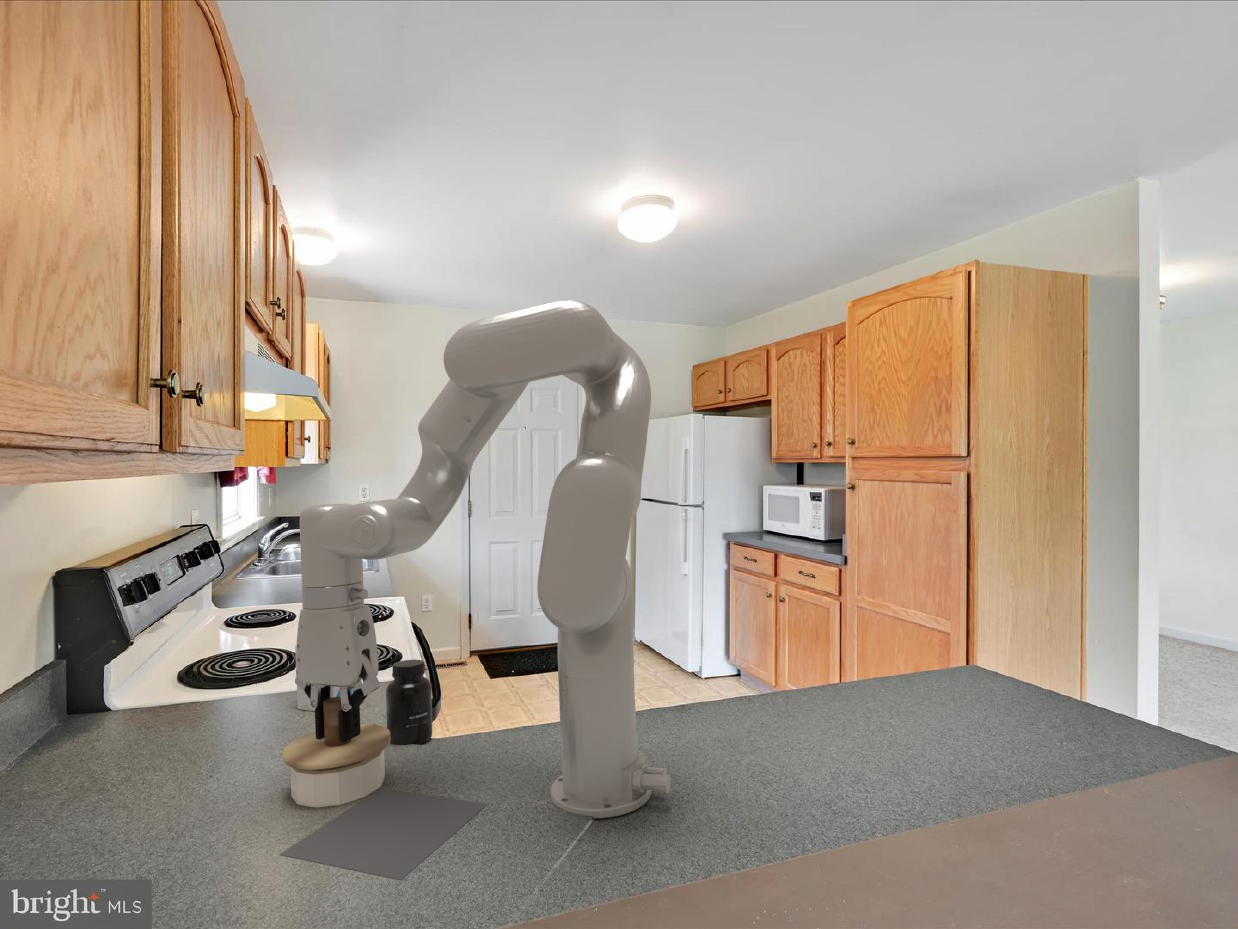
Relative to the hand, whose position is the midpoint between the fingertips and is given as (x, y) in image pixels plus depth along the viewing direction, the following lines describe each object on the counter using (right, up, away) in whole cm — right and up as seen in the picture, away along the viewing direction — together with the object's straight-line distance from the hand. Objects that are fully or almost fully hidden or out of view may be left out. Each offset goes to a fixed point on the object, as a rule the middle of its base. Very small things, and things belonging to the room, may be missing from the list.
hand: (338, 735), depth 88 cm
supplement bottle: (+4, -8, +16) cm, 19 cm away
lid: (0, -2, 0) cm, 2 cm away
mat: (+11, -6, -12) cm, 17 cm away
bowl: (0, -7, 0) cm, 7 cm away
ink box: (-18, -9, +37) cm, 42 cm away
